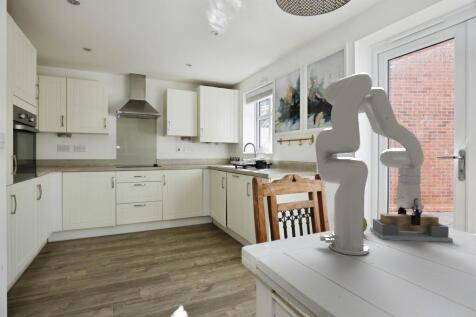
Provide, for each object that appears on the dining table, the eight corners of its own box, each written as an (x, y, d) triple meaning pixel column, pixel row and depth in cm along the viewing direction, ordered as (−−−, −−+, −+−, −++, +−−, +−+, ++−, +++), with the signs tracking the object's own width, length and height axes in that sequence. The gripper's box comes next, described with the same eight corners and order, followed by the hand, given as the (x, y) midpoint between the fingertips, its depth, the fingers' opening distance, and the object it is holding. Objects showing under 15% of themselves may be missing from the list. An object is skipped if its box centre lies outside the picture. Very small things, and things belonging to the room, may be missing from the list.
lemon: (367, 233, 105) (367, 214, 105) (366, 236, 101) (366, 216, 100) (353, 230, 108) (353, 212, 108) (351, 234, 104) (351, 214, 103)
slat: (384, 230, 101) (384, 215, 101) (380, 227, 105) (380, 213, 105) (438, 232, 99) (438, 217, 99) (431, 229, 103) (431, 215, 103)
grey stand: (382, 239, 98) (382, 225, 98) (369, 229, 110) (370, 218, 110) (452, 241, 95) (452, 228, 95) (431, 232, 107) (432, 219, 107)
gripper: (388, 177, 111) (388, 216, 111) (411, 182, 94) (410, 227, 94) (407, 178, 110) (406, 217, 110) (433, 182, 93) (432, 228, 93)
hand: (408, 222), depth 102 cm, fingers open, 9 cm apart
